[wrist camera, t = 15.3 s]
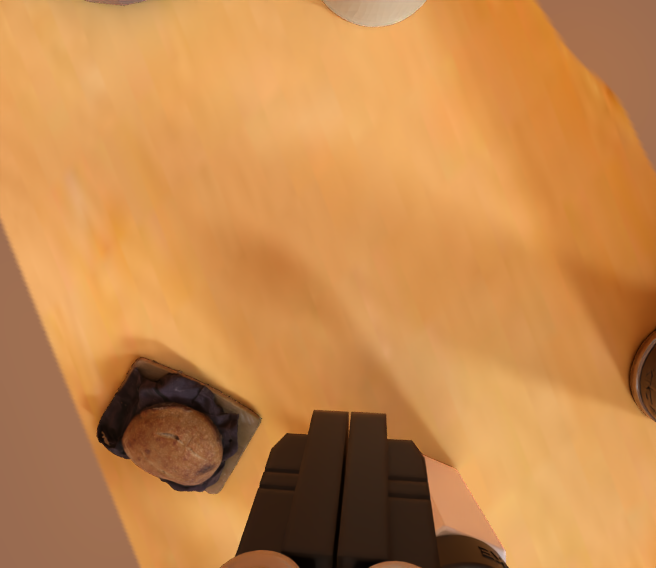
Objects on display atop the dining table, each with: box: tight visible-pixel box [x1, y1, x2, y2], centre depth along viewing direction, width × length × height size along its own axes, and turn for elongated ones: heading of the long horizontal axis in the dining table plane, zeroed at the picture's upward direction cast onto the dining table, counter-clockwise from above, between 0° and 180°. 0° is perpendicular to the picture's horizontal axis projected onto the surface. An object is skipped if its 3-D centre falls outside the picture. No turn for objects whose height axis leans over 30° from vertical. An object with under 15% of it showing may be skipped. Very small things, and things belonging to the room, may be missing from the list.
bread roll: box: [97, 357, 262, 494], centre depth 35 cm, size 11×8×4 cm
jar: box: [423, 455, 509, 568], centre depth 34 cm, size 9×8×12 cm
